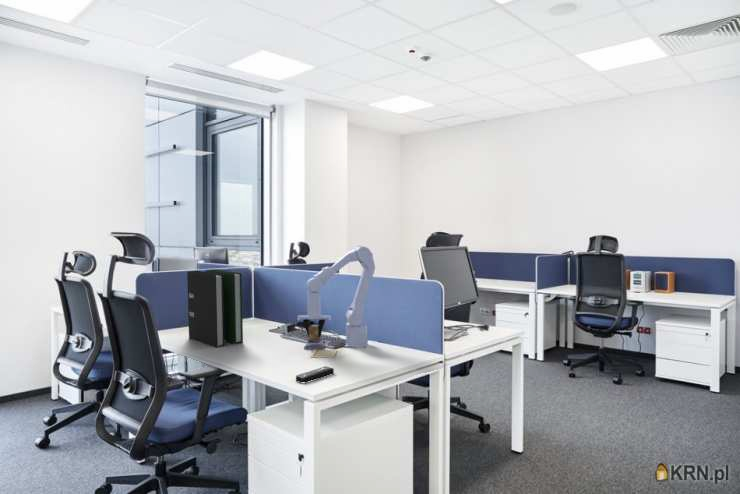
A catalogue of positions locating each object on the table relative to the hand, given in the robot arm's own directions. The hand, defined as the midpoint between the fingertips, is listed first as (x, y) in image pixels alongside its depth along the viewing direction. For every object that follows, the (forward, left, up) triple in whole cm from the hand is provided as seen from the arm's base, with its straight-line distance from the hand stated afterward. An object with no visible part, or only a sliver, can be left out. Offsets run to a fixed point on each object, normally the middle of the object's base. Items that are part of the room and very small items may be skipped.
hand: (314, 336), depth 218 cm
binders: (+49, -12, -5) cm, 51 cm away
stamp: (0, 0, -2) cm, 2 cm away
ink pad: (0, 0, -5) cm, 5 cm away
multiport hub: (-8, +42, -5) cm, 43 cm away
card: (-7, +10, -5) cm, 13 cm away
